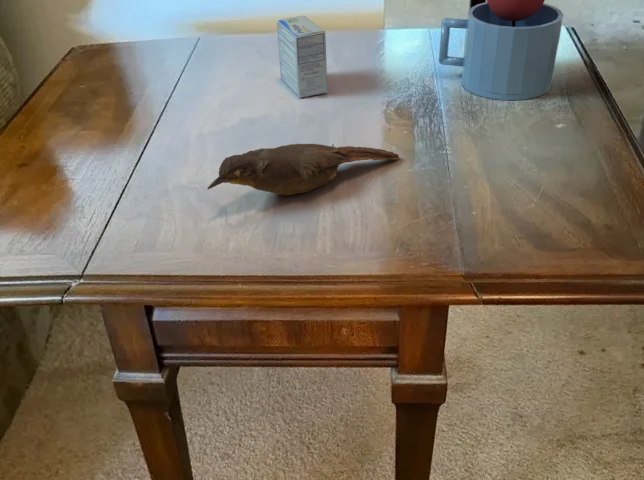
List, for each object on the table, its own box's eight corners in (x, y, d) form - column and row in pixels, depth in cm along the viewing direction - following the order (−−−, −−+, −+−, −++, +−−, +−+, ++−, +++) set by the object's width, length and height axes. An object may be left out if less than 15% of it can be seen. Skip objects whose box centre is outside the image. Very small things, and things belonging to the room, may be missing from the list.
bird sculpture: (408, 184, 90) (415, 144, 87) (220, 218, 78) (221, 172, 75) (375, 165, 95) (380, 126, 92) (191, 195, 82) (191, 150, 80)
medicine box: (328, 93, 107) (326, 30, 101) (298, 99, 105) (295, 35, 100) (308, 75, 112) (306, 14, 107) (279, 80, 111) (276, 19, 106)
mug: (556, 71, 110) (568, 3, 104) (544, 104, 101) (556, 31, 95) (447, 61, 114) (452, -5, 109) (427, 92, 106) (431, 21, 100)
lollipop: (549, 78, 104) (562, -43, 98) (500, 83, 102) (511, -40, 95) (516, 71, 111) (526, -44, 104) (470, 75, 109) (477, -41, 102)
